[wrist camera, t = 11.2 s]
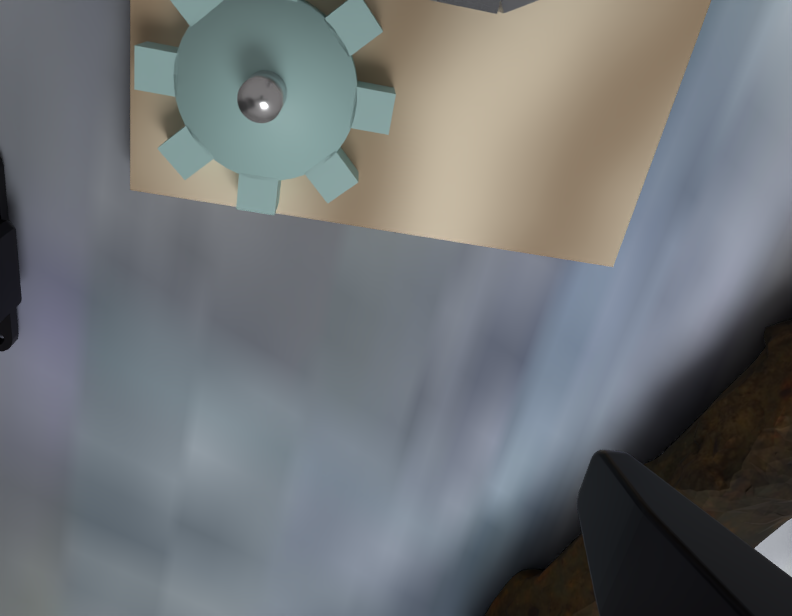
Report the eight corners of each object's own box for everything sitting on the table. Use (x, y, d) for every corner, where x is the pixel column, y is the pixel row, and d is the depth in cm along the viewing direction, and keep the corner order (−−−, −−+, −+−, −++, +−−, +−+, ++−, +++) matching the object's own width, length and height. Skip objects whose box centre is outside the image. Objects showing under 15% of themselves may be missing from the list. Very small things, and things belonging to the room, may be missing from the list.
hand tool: (801, 252, 21) (933, 338, 16) (887, 324, 23) (1033, 423, 18) (397, 637, 29) (404, 773, 24) (480, 672, 31) (502, 807, 26)
